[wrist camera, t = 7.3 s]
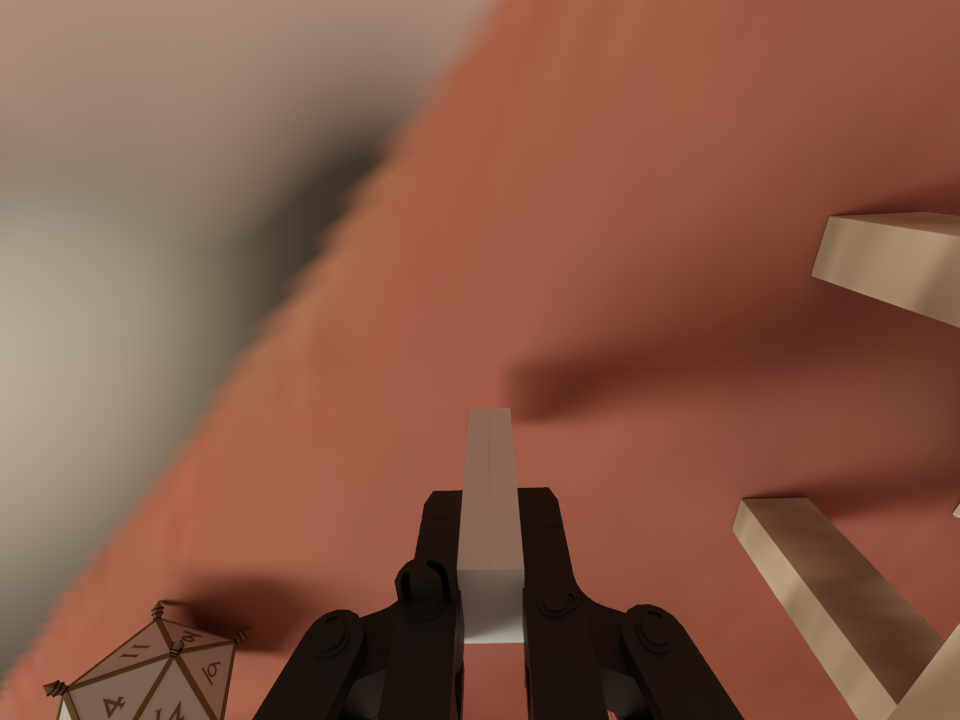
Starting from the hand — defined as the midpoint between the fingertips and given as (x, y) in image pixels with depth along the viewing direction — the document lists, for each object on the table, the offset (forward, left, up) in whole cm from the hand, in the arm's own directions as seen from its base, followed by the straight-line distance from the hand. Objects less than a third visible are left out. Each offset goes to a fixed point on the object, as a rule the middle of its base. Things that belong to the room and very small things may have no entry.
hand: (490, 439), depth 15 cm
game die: (-15, +18, -2) cm, 23 cm away
